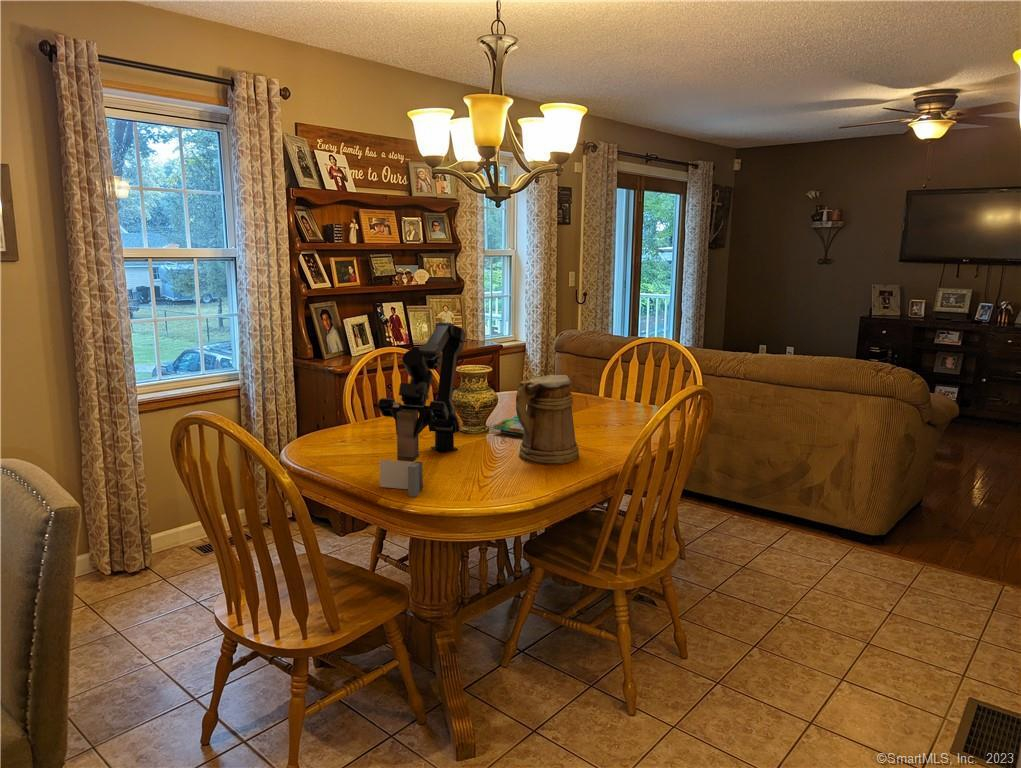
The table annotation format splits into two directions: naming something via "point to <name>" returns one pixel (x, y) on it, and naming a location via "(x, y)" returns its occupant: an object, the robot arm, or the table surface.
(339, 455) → the table surface
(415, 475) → the gray upright block
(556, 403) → the tankard
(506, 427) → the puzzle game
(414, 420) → the doorstop post
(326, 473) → the table surface
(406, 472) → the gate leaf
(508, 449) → the table surface
